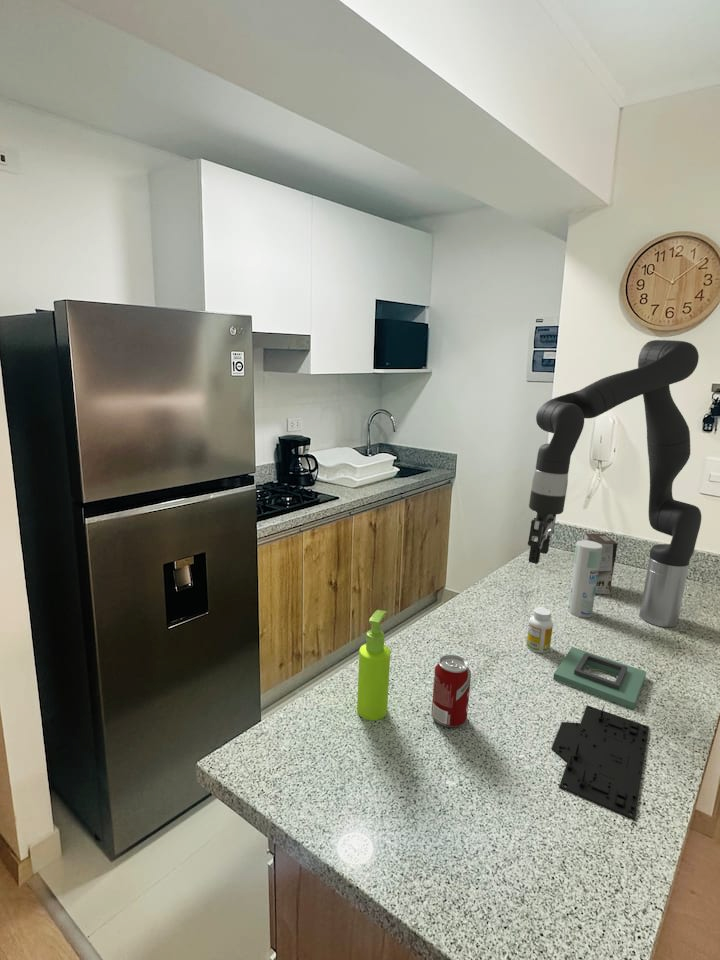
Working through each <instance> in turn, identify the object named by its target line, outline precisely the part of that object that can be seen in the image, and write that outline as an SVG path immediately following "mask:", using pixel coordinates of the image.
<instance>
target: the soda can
mask: <svg viewBox="0 0 720 960" xmlns="http://www.w3.org/2000/svg"><path fill="white" fill-rule="evenodd" d="M471 678H472V671H471V670H470V667H469V662H468V661H467V659H465V658H464V657H461V656H459V655H454V654H446V655H443V656H441V657H439V660H438V663H437V664H436V665H435V667H434V676H433V689H432V700H431V701H432V703H431V716H432V719H433V720H434V721H435V722H436V723H438V724H440V725H441V726H444V727H449V728H457V727H460V726H463V725H465V724H466V722H467V720H468V710H469V702H470V701H469V699H470V691H471V690H470V689H471V682H472V681H471V680H472V679H471Z"/></svg>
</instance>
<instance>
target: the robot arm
mask: <svg viewBox="0 0 720 960" xmlns="http://www.w3.org/2000/svg"><path fill="white" fill-rule="evenodd" d="M699 359H700V357H699V352H698V348H697V347H696V346H695V345H694V344H693V343H691V342H688V341H683V340H668V339H667V340H665V339H653V340H650V341H648V342H646V343H645V344H644V345H643V346H642V348H641V350H640V352H639V355H638V360H637V368H633V369H630V370H626V371H623V372H619V373H615V374H612V375H607V376H605V377H603V378H601V379H598V380H596V381H594V382H592V383H590V384H589V385H587V386H585V387H582V388H580V390H576V391H573V392H570V393H567V394H563V395H560V396H557V397H554V398H552V399H549V400H548V401H546V402H544V403H543V404H542V405H541V406H540V407H539V409H538V410H537V412H536V415H535V420H536V425H538V427H539V428H540V429H541V430H543V431H544V432H547V433H550V434H551V433H552V434H553V435H552V437H551V440H550V442H549V443H544V444H541V445H540V447H538V451H537V457H536V465H535V470H534V472H533V473H534V474H533V477H532V482H531V489H530V494H529V503H528V507H529V509H530V510H531V511H532V512H536V517H534V518H533V519H532V520H531V521H530V528H529V535H528V541H527V546H529V547H530V549H529V553H528V554H529V556H528V562H529V563H531V564H535V565H537V564H539V562H540V558H541V554H543V555H544V554H545V555H546V554H548V553H549V547H550V542H551V539H552V536H553V535H554V533H555V526H556V520H557V515H560V514H563V512H564V510H565V509H564V508H565V502H566V498H567V492H568V491H567V490H568V483H569V471H570V464H571V457H572V454H573V452H574V450H575V449H576V446H577V444H578V441H579V439H580V437H581V434H582V432H583V429H584V426H585V419H594V418H596V417H599V416H600V415H603V414H604V413H606V412H608V411H610V410H612V409H613V408H615V407H618V406H619V405H621V404H623V403H626V402H628V401H630V400H633V399H634V398H637V397H639V396H642V398H643V404H644V413H645V414H644V415H645V424H646V441H647V442H646V443H647V444H646V446H647V456H648V467H649V468H648V469H649V471H648V472H649V492H648V493H649V496H648V499H649V500H648V522H649V525H650V526H651V528H652V529H653V530H655V531H656V532H659V533H662V534H665V535H668V536H670V537H671V540H670V543H667V544H666V543H663V544H662V543H660V544H655V545H653V546H651V548H650V551H649V557H648V563H647V569H646V573H645V574H646V575H645V581H644V584H643V591H642V597H641V603H640V609H639V613H638V614H639V617H640V619H642V620H643V621H645V622H647V623H649V624H650V625H651V624H652V625H655V626H658V627H663V628H673V627H674V628H675V627H677V625H678V623H679V617H680V613H681V607H682V603H683V598H684V592H685V588H686V584H687V583H686V582H687V576H688V571H689V566H690V560H691V558H692V555H693V553H694V551H695V548H696V544H697V540H698V535H699V533H700V529H701V523H702V512H701V509H700V508H699V507H698V506H696V505H694V504H691V503H688V502H687V503H686V502H684V501H680V500H676V499H674V497H673V485H674V481H675V479H676V477H677V476H678V475H679V474H680V473H681V471H682V470H683V469H684V467H685V466H686V465H687V463H688V462H689V459H690V456H691V434H690V433H691V431H690V428H689V426H688V423H687V420H686V419H685V417H684V416H683V414H682V412H681V411H680V410H679V407H678V406H677V405H676V403H675V400H674V399H673V395H672V394H671V389H670V385H673V384H677V383H679V382H682V381H684V380H686V379H688V378H689V377H690V376H692V374H693V373H694V371H695V370H696V369H697V367H698V364H699ZM535 539H537V541H535Z"/></svg>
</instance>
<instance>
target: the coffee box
mask: <svg viewBox="0 0 720 960" xmlns="http://www.w3.org/2000/svg"><path fill="white" fill-rule="evenodd" d="M583 540H588V541H594V542H597V543H599V544H601V545H602V546H603V547H602V554H601V560H600V566H599V573H598V579H597V585H596V591H595V595H596V594H598V595H610V593H611V588H612V581H613V575H614V569H615V562H616V556H617V552H618V551H617V550H618V545H619V544H618V542H616V541H615V540H613V539H612V538H611V537H609V536H608V535H606V534H605V533H585V534H584V539H583Z"/></svg>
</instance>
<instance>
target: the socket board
mask: <svg viewBox="0 0 720 960" xmlns="http://www.w3.org/2000/svg"><path fill="white" fill-rule="evenodd" d="M587 667H590V668H593V669H595V670H597V671H598V670H599V671H601V672H604V673H606V674H608V675H609V674H610V675H612V676H615V677H616V678H615V680H614V681H613V680H610V679H607V678H605V677H602V676H600V675H596V674H593V673H591V672H589V671H585V670H587ZM646 677H647V671H646V670H643V669H641V668H637V667H634V666H630V665H627V664H625V663H622V662H619V661H615V660H613V659H610V658H607V657H603V656H601V655H599V654H594V653H592V652H589V651H587V650H583V649H580V648H577V647H574V646H571V647H570V649H569V651H568V652H567V654H566V655H565V656H564V658H563V659H562V661H561V662H560V664H559V665H558V667H557V668H556V669H555V671H554V673H553V677H552V681H553V680H554V681H556V682H559V683H562V684H565V685H566V686H570V687H573V688H574V689H575V688H576V689H577V690H580V691H583V692H586V693H588V694H591V695H594V696H597V697H598V698H602V699H604V700H607V701H610V702H612V703H615V704H617V705H620V706H623V707H626V708H628V709H631V710H634V709H635V707H636V704H637V701H638V699H639V696H640V693H641V690H642V688H643V685H644V683H645V679H646Z"/></svg>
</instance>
